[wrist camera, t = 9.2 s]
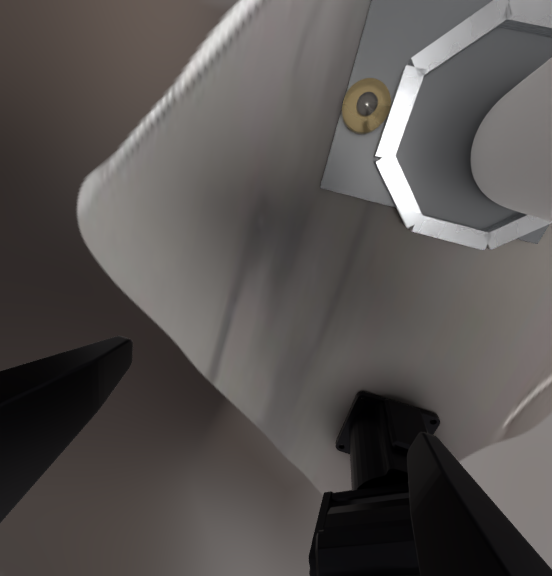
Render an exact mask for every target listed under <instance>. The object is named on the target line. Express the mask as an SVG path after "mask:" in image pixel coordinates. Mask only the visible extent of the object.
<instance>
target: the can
mask: <svg viewBox="0 0 552 576" xmlns="http://www.w3.org/2000/svg"><path fill="white" fill-rule="evenodd" d="M471 170H472V174H473V177H474V180H475V182H476V184H477V186H478V187H479V189H480V190H481V191H482V192H483V193H484V194H485V195H486V196H487V197H488V198H489V199H490V200H492V201H493V202H495V203H497V204H499V205H501V206H503V207H505V208H508V209H511V210H514V211H517V212H520V213H524V214H527V215H530V216H534V217H537V218H540V219H544V220H547V221H550V222H552V58H550V59H549V60H548V61H547V62H545V63H544V64H543V65H542V66H540V67H539V68H538V69H537V70H535V71H534V72H533V73H531V74H530V75H529V76H528V77H526V78H525V79H524V80H523V81H521V82H520V83H519V84H518V85H516V86H515V87H514V88H513V89H512V90H510V91H509V92H508V93H507V94H506V95H504V96H503V97H502V98H501V99H500V100H499V101H498V102H497V103H496V104H495V105H494V106H493V107H492V109H491V110H490V111H489V112H488V114H487V115H486V116H485V118H484V119H483V121H482V123H481V124H480V126H479V128H478V130H477V132H476V135H475V137H474V141H473V144H472V149H471Z"/></svg>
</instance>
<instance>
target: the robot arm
mask: <svg viewBox="0 0 552 576" xmlns="http://www.w3.org/2000/svg"><path fill="white" fill-rule="evenodd" d="M132 351H133V342H132V340H131V339H129V338H126V337H122V336H116V337H113V338H110V339H106V340H103V341H100V342H96V343H93V344H89V345H86V346H83V347H80V348H76V349H73V350H69V351H66V352H63V353H59V354H56V355H53V356H49V357H46V358H43V359H39V360H36V361H33V362H30V363H26V364H23V365H19V366H16V367H13V368H9V369H6V370H3V371H0V523H1V522H2V520H3V519H4V518H5V517H6V516H7V515H8V514H9V512H10V511H11V510H12V509H13V508H14V507H15V505H16V504H17V503H18V502H19V501H20V500H21V499H22V498H23V496H24V495H25V494H26V493H27V492H28V491H29V490H30V488H31V487H32V486H33V485H34V484H35V482H36V481H37V480H38V479H39V478H40V477H41V476H42V475H43V474H44V472H45V471H46V470H47V469H48V468H49V467H50V466H51V464H52V463H53V462H54V461H55V460H56V459H57V457H58V456H59V455H60V454H61V453H62V452H63V451H64V450H65V448H66V447H67V446H68V445H69V444H70V443H71V442H72V440H73V439H74V438H75V437H76V436H77V435H78V434H79V432H80V431H81V430H82V429H83V428H84V427H85V425H86V424H87V423H88V422H89V421H90V420H91V419H92V417H93V416H94V415H95V414H96V413H97V412H98V410H99V409H100V408H101V406H102V405H103V404H104V402H105V401H106V400H107V398H108V397H109V396H110V394H111V392H112V391H113V390H114V389H115V387H116V386H117V384H118V383H119V381H120V380H121V379H122V377H123V376H124V374H125V373H126V371H127V370H128V369H129V367H130V365H131V363H132ZM361 398H365V399H361ZM431 420H432V421H431ZM439 424H440V420H439V417H438V416H437V415H436V414H434V413H431V412H428V411H425V410H422V409H418V408H415V407H412V406H409V405H406V404H402V403H399V402H396V401H393V400H390V399H386V398H383V397H380V396H376V395H373V394H370V393H367V392H359V393H358V394H357V396H356V398H355V400H354V402H353V404H352V407H351V409H350V411H349V413H348V416H347V418H346V420H345V422H344V424H343V427H342V429H341V431H340V433H339V436H338V438H337V440H336V448H337V449H338V450H339V451H342V452H345V453H348V454H350V462H351V482H352V490H350V491H343V492H336V493H333V492H325V493H324V495H323V500H322V503H321V508H320V512H319V516H318V520H317V524H316V528H315V532H314V536H313V540H312V545H311V550H310V553H309V564H310V573H309V574H310V576H552V569H551V568H550V567H549V566H548V565H547V564H546V562H545V561H544V560H543V559H542V558H541V557H540V555H539V554H538V553H537V552H536V551H535V550H534V549H533V547H532V546H531V545H530V544H529V543H528V542H527V540H526V539H525V538H524V537H523V536H522V535H521V533H520V532H519V531H518V530H517V529H516V528H515V527H514V525H513V524H512V523H511V522H510V521H509V520H508V518H507V517H506V516H505V515H504V514H503V513H502V512H501V511H500V509H499V508H498V507H497V506H496V505H495V503H494V502H493V501H492V500H491V499H490V498H489V497H488V496H487V494H486V493H485V492H484V491H483V490H482V488H481V487H480V486H479V485H478V484H477V483H476V482H475V480H474V479H473V478H472V477H471V476H470V475H469V474H468V472H467V471H466V470H465V469H464V468H463V467H462V465H461V464H460V463H459V462H458V461H457V460H456V458H455V457H454V456H453V455H452V454H451V453H450V452H449V450H448V449H447V448H446V447H445V446H444V445H443V443H442V442H441V441H440V440H439V439H438V438H437V437H436V436H434V435H433V434H434V432H435V431H436V429H437V427H438V426H439Z"/></svg>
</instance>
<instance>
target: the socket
mask: <svg viewBox="0 0 552 576" xmlns="http://www.w3.org/2000/svg"><path fill="white" fill-rule="evenodd" d="M497 27H502V28H507V29H512V30H517V31H522V32H527V33H532V34H537V35H542V36H547V37H551V38H552V0H493V1H491V2H490V3H489V4H487V5H486V6H484V7H483V8H481V9H480V10H479V11H477V12H476V13H474V14H473V15H471V16H470V17H469V18H467V19H466V20H464V21H463V22H462V23H460V24H459V25H457V26H456V27H454V28H453V29H452V30H450V31H449V32H447V33H446V34H444V35H443V36H442V37H440V38H439V39H437V40H436V41H435V42H433V43H432V44H430V45H429V46H427V47H426V48H425V49H423V50H422V51H420V52H419V53H417V54H416V55H415V56H413V57H412V58H411V59H410V60H409V62H408V65H406V66H405V67H404V69H403V70H402V73H401V76H400V79H399V82H398V85H397V88H396V91H395V94H394V97H393V100H392V103H391V106H390V110H389V113H388V115H387V118H386V121H385V124H384V127H383V130H382V133H381V136H380V139H379V142H378V145H377V148H376V151H375V154H374V156H375V157H379V158H380V159H379V160H377V161H376V162H374V163H375V165H376V167H377V170H378V172H379V174H380V176H381V178H382V180H383V182H384V184H385V186H386V188H387V190H388V192H389V194H390V197H391V199H392V201H393V203H394V205H395V207H396V209H397V211H398V213H399V215H400V217H401V219H402V221H403V223H404V226H406V227H407V228H408V227H409V229H410V230H411V231H412V232H416V233H420V234H424V235H427V236H431V237H435V238H439V239H443V240H446V241H450V242H454V243H458V244H462V245H465V246H469V247H473V248H477V249H481V250H485V248H488V249H490V250H491V249H494V248H496V247H498V246H501V245H503V244H505V243H507V242H510V241H512V240H514V239H517V238H519V237H521V236H523V235H526V234H528V233H530V232H532V231H535V230H537V229H539V228H542V227H544V226H546V225H548V224H551V223H552V222H550V221H547V220H544V219H540V218H537V217H534V216H530V215H527V214H524V213H518V214H516V215H514V216H512V217H510V218H507V219H505V220H503V221H501V222H499V223H497V224H494V225H492V226H490V227H488V228H486V229H484V230H481V229H477V228H473V227H469V226H465V225H461V224H458V223H454V222H450V221H446V220H442V219H438V218H434V217H430V216H427V215H423V214H422V213H421V211H420V209H419V206H418V204H417V202H416V200H415V198H414V196H413V193H412V191H411V189H410V187H409V185H408V183H407V180H406V178H405V176H404V174H403V172H402V170H401V167H400V165H399V163H398V161H397V159H396V157H395V155H396V152H397V149H398V146H399V144H400V141H401V138H402V135H403V132H404V130H405V127H406V124H407V121H408V119H409V116H410V113H411V110H412V108H413V105H414V102H415V99H416V96H417V94H418V91H419V88H420V85H421V83H422V80H423V77H424V76H426V75H427V74H429V73H430V72H432V71H433V70H435V69H436V68H438V67H439V66H441V65H442V64H443V63H445V62H446V61H448V60H449V59H451V58H452V57H454V56H455V55H457V54H458V53H460V52H461V51H463V50H464V49H466V48H467V47H469V46H470V45H472V44H473V43H475V42H476V41H478V40H479V39H481V38H482V37H484V36H485V35H487V34H488V33H490V32H491V31H493V30H494V29H496V28H497Z"/></svg>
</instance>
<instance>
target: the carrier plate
mask: <svg viewBox="0 0 552 576" xmlns="http://www.w3.org/2000/svg"><path fill="white" fill-rule="evenodd" d="M491 1H493V0H372V1H371V5H370V9H369V12H368V16H367V20H366V23H365V27H364V30H363V34H362V38H361V41H360V45H359V49H358V52H357V56H356V59H355V63H354V67H353V70H352V74H351V77H350V81H349V85H348V88H347V91H348V90H349V89H350V87H351V86H352V85H353V84H355V83H356V82H358V81H359V80H362V79H365V78H375V79H378V80H380V81H382V82H383V83H384V84H385V85H386V86H387V88H388V90H389V92H390V96H391V103H392V100H393V97H394V94H395V91H396V88H397V85H398V82H399V79H400V76H401V73H402V70H403V69H404V67H405V66H406V65H408V62H409V60H410V59H411V58H412V57H413V56H415V55H416V54H417V53H419V52H420V51H422V50H423V49H425V48H426V47H427V46H429V45H430V44H432V43H433V42H435V41H436V40H437V39H439V38H440V37H442V36H443V35H444V34H446V33H447V32H449V31H450V30H452V29H453V28H454V27H456V26H457V25H459V24H460V23H462V22H463V21H464V20H466V19H467V18H469V17H470V16H471V15H473V14H474V13H476V12H477V11H479V10H480V9H481V8H483V7H484V6H486V5H487V4H489V3H490V2H491ZM550 58H552V38H551V37H547V36H542V35H537V34H532V33H527V32H522V31H517V30H512V29H507V28H502V27H497V28H496V29H494V30H493V31H491V32H490V33H488V34H487V35H485V36H484V37H482V38H481V39H479V40H478V41H476V42H475V43H473V44H472V45H470V46H469V47H467V48H466V49H464V50H463V51H461V52H460V53H458V54H457V55H455V56H454V57H452V58H451V59H449V60H448V61H446V62H445V63H443V64H442V65H441V66H439V67H438V68H436V69H435V70H433V71H432V72H430V73H429V74H427V75H426V76H424V77H423V80H422V83H421V85H420V88H419V91H418V94H417V96H416V99H415V102H414V105H413V108H412V110H411V113H410V116H409V119H408V121H407V124H406V127H405V130H404V132H403V135H402V138H401V141H400V144H399V146H398V149H397V152H396V155H395V157H396V159H397V161H398V163H399V165H400V167H401V170H402V172H403V174H404V176H405V178H406V180H407V183H408V185H409V187H410V189H411V191H412V193H413V196H414V198H415V200H416V202H417V204H418V206H419V209H420V211H421V213H422V214H423V215H427V216H430V217H434V218H438V219H442V220H446V221H450V222H454V223H458V224H461V225H465V226H469V227H473V228H477V229H481V230H484V229H486V228H488V227H490V226H492V225H494V224H497V223H499V222H501V221H503V220H505V219H507V218H510V217H512V216H514V215H516V214H518V213H520V212H517V211H514V210H511V209H508V208H505V207H503V206H501V205H499V204H497V203H495V202H493V201H492V200H490V199H489V198H488V197H487V196H486V195H485V194H484V193H483V192H482V191H481V190H480V189H479V187H478V186H477V184H476V182H475V180H474V177H473V174H472V170H471V149H472V144H473V141H474V137H475V135H476V132H477V130H478V128H479V126H480V124H481V123H482V121H483V119H484V118H485V116H486V115H487V114H488V112H489V111H490V110H491V109H492V107H493V106H494V105H495V104H496V103H497V102H498V101H499V100H500V99H501V98H502V97H503V96H504V95H506V94H507V93H508V92H509V91H510V90H512V89H513V88H514V87H515V86H516V85H518V84H519V83H520V82H521V81H523V80H524V79H525V78H526V77H528V76H529V75H530V74H531V73H533V72H534V71H535V70H537V69H538V68H539V67H540V66H542V65H543V64H544V63H545V62H547V61H548V60H549V59H550ZM346 93H347V92H346ZM386 118H387V117H386ZM385 121H386V119H385V120H384V122H383V123H382V124H381V125H380V126H379V127H378V128H376V129H375V130H374V131H372V132H370V133H367V134H356V133H354V132H352V131H350V130H349V129H348V128H347V127H346V125H345V124H344V121H343V118H342V110H341V114H340V117H339V121H338V125H337V128H336V132H335V135H334V139H333V143H332V146H331V150H330V154H329V157H328V161H327V164H326V168H325V172H324V175H323V179H322V182H321V186H320V188H322V189H326V190H330V191H334V192H337V193H341V194H345V195H349V196H353V197H357V198H361V199H365V200H368V201H372V202H376V203H380V204H384V205H388V206H392V207H395V205H394V203H393V201H392V199H391V197H390V194H389V192H388V190H387V188H386V186H385V184H384V182H383V180H382V178H381V176H380V174H379V172H378V170H377V167H376V165H375V163H374V162H376V161H377V160H379V159H380V158H379V157H375V156H374V154H375V151H376V148H377V145H378V142H379V139H380V136H381V133H382V130H383V127H384V124H385ZM548 226H549V224H548V225H546V226H544V227H542V228H539V229H537V230H535V231H532V232H530V233H528V234H526V235H523V236H521V237H519V238H517V239H520V240H523V241H527V242H531V243H535V244H538V242H539V240H540V239H541V237H542V235H543V234H544V232H545V231H546V229H547V227H548Z"/></svg>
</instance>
